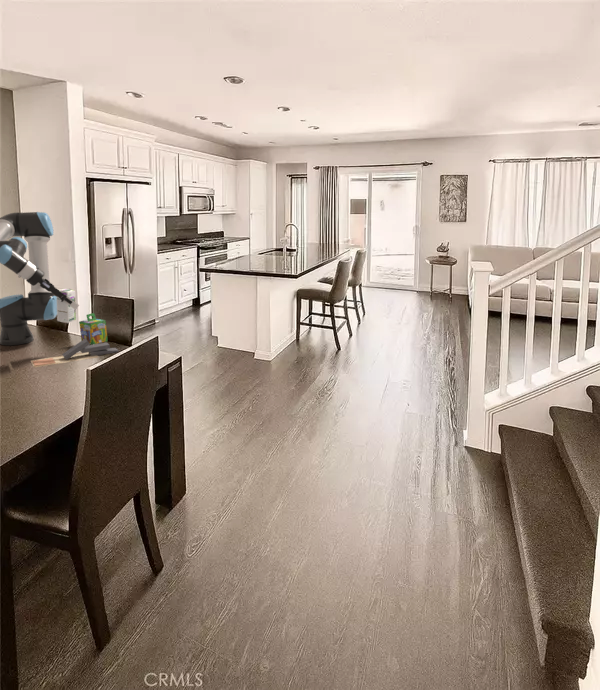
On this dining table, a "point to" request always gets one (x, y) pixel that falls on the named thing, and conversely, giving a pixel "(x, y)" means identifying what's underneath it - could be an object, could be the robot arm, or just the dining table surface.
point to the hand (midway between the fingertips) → (75, 305)
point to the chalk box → (93, 330)
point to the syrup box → (66, 307)
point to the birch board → (61, 359)
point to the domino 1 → (75, 349)
